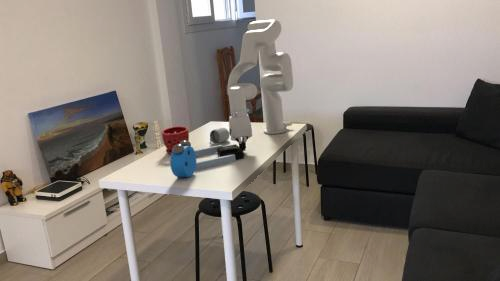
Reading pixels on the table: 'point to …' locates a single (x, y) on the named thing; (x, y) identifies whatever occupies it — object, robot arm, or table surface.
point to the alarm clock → (183, 159)
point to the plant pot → (174, 137)
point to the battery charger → (231, 151)
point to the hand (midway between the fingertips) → (242, 150)
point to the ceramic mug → (219, 135)
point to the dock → (215, 160)
